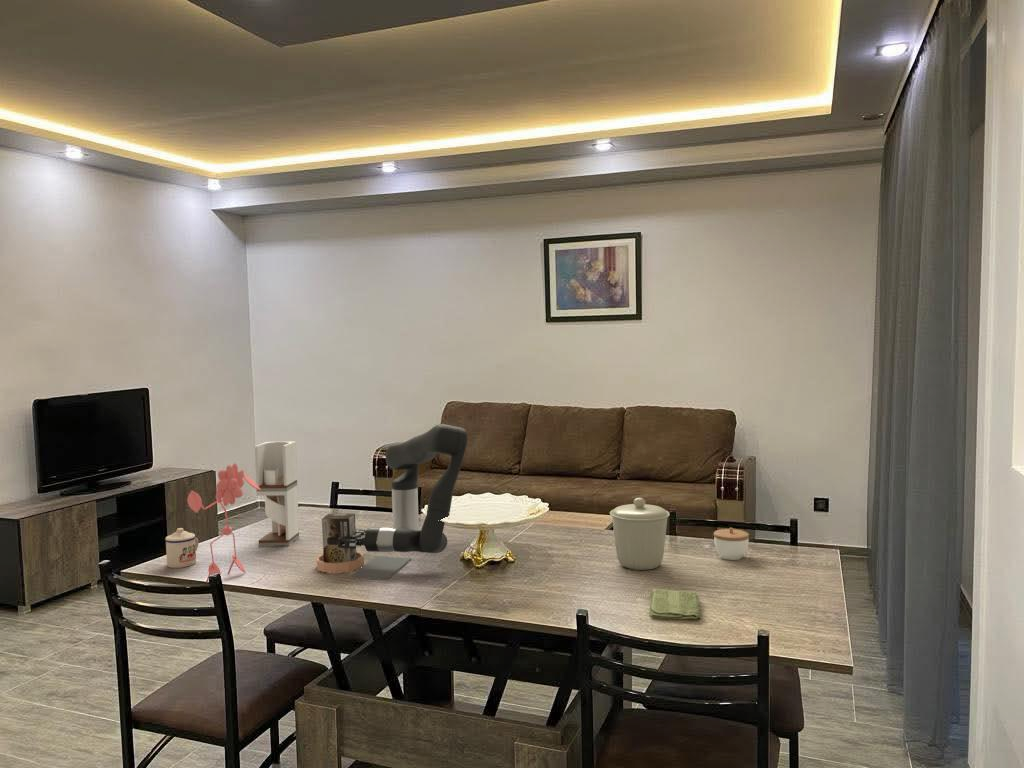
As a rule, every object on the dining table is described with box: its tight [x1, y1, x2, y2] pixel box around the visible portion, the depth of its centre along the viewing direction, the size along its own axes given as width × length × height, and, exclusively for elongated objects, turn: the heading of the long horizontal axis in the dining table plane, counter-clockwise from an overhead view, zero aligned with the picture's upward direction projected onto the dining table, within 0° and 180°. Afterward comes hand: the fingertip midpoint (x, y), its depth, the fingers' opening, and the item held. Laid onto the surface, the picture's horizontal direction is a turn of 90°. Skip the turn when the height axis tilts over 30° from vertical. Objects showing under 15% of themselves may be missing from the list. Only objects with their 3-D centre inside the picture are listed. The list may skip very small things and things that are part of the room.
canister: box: [609, 497, 670, 571], centre depth 238 cm, size 18×18×21 cm
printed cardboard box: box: [321, 513, 357, 563], centre depth 243 cm, size 9×6×16 cm
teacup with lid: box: [164, 527, 199, 569], centre depth 250 cm, size 12×9×12 cm
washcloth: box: [649, 588, 703, 621], centre depth 200 cm, size 13×18×3 cm
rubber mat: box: [350, 556, 412, 580], centre depth 241 cm, size 20×12×1 cm, turn 168°
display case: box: [254, 441, 300, 547], centre depth 274 cm, size 11×11×35 cm
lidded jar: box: [713, 527, 750, 561], centre depth 245 cm, size 11×11×9 cm
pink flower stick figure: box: [187, 462, 265, 588], centre depth 230 cm, size 15×26×35 cm, turn 158°
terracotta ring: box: [315, 550, 365, 574], centre depth 244 cm, size 14×14×3 cm
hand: (332, 537), depth 243 cm, fingers closed on printed cardboard box, 7 cm apart
